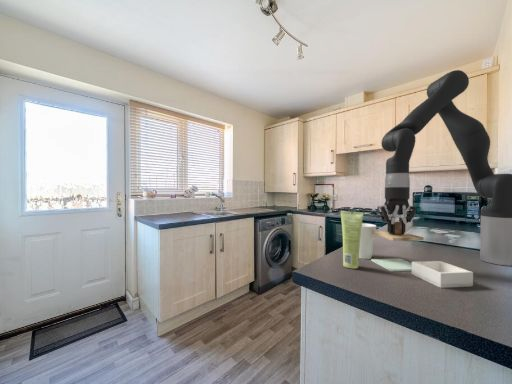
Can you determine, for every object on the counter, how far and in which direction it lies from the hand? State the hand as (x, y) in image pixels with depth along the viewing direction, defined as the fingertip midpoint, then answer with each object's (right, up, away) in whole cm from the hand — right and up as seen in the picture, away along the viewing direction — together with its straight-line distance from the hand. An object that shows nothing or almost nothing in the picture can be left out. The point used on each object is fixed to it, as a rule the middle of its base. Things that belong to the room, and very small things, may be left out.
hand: (396, 233), depth 79 cm
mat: (0, -11, 0) cm, 11 cm away
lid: (0, -1, 0) cm, 1 cm away
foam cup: (-7, -11, +10) cm, 17 cm away
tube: (-17, -12, -2) cm, 21 cm away
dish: (+5, -12, -13) cm, 18 cm away
